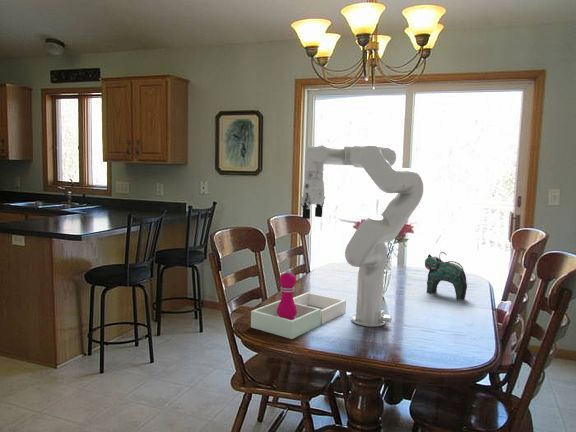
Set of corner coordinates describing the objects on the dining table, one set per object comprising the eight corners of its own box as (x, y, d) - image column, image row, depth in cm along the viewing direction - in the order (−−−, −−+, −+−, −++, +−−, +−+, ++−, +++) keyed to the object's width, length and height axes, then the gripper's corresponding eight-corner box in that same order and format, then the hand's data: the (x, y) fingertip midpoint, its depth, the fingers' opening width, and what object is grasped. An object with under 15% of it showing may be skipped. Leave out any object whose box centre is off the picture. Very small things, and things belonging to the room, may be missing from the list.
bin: (320, 325, 171) (320, 309, 170) (292, 339, 156) (292, 321, 156) (280, 314, 181) (281, 299, 181) (250, 327, 167) (251, 310, 166)
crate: (345, 312, 186) (345, 300, 186) (321, 324, 172) (322, 311, 171) (307, 303, 197) (308, 292, 196) (282, 314, 182) (282, 301, 182)
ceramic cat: (422, 291, 221) (424, 249, 219) (429, 289, 226) (432, 248, 223) (461, 301, 206) (464, 256, 204) (468, 299, 211) (471, 255, 209)
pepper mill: (294, 327, 165) (296, 271, 163) (274, 325, 166) (275, 270, 164) (298, 321, 172) (299, 267, 170) (279, 319, 173) (280, 266, 171)
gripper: (310, 176, 183) (308, 220, 185) (332, 176, 197) (330, 216, 199) (294, 176, 187) (293, 218, 189) (316, 175, 201) (315, 215, 203)
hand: (312, 217), depth 194 cm, fingers open, 9 cm apart
